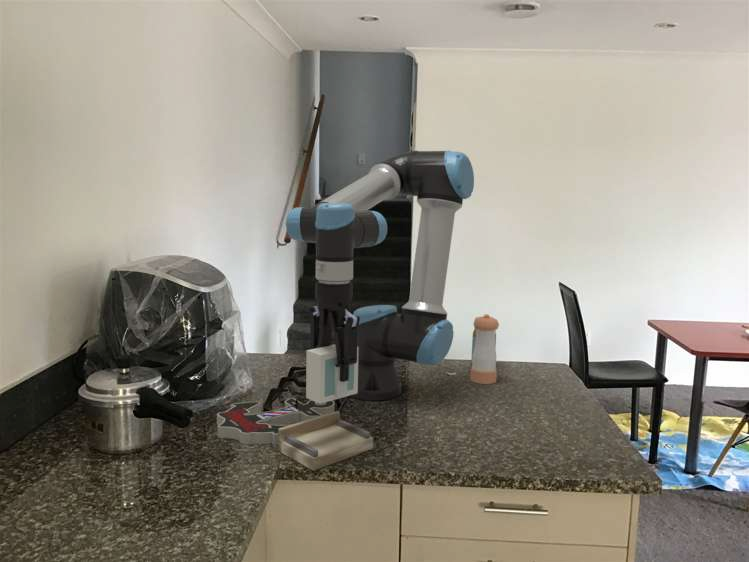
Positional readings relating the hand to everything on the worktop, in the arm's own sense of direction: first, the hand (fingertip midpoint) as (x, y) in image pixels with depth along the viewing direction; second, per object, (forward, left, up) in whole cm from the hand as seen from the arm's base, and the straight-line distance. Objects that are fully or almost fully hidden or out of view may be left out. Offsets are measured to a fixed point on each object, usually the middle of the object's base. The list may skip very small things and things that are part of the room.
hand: (332, 392), depth 137 cm
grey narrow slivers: (-18, +74, -14) cm, 78 cm away
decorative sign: (-21, +1, -14) cm, 25 cm away
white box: (0, 0, -1) cm, 1 cm away
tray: (-2, 0, -13) cm, 14 cm away
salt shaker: (-10, +64, -14) cm, 66 cm away
